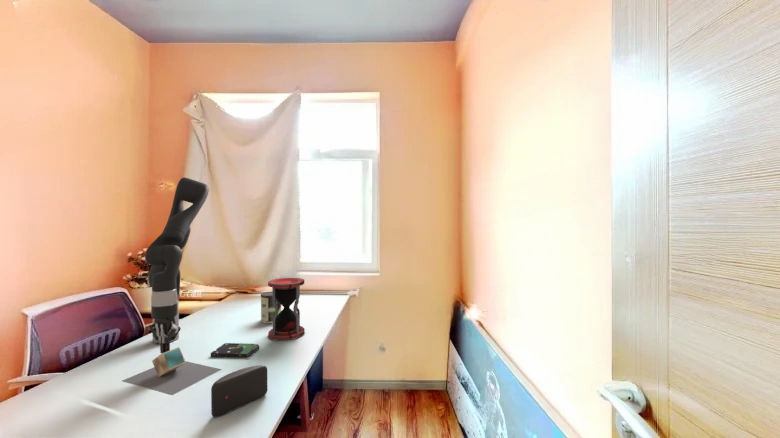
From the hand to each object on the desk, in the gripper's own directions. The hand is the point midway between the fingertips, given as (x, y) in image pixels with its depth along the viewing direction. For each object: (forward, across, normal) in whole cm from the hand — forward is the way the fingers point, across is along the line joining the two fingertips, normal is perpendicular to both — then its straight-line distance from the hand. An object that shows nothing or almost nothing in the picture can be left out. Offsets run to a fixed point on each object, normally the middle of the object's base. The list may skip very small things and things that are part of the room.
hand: (165, 352), depth 114 cm
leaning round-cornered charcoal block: (+8, +39, -5) cm, 40 cm away
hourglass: (+8, +14, +47) cm, 50 cm away
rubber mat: (+8, +4, 0) cm, 9 cm away
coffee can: (+8, -8, +61) cm, 62 cm away
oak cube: (+5, -1, 0) cm, 5 cm away
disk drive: (+8, +8, +22) cm, 25 cm away
